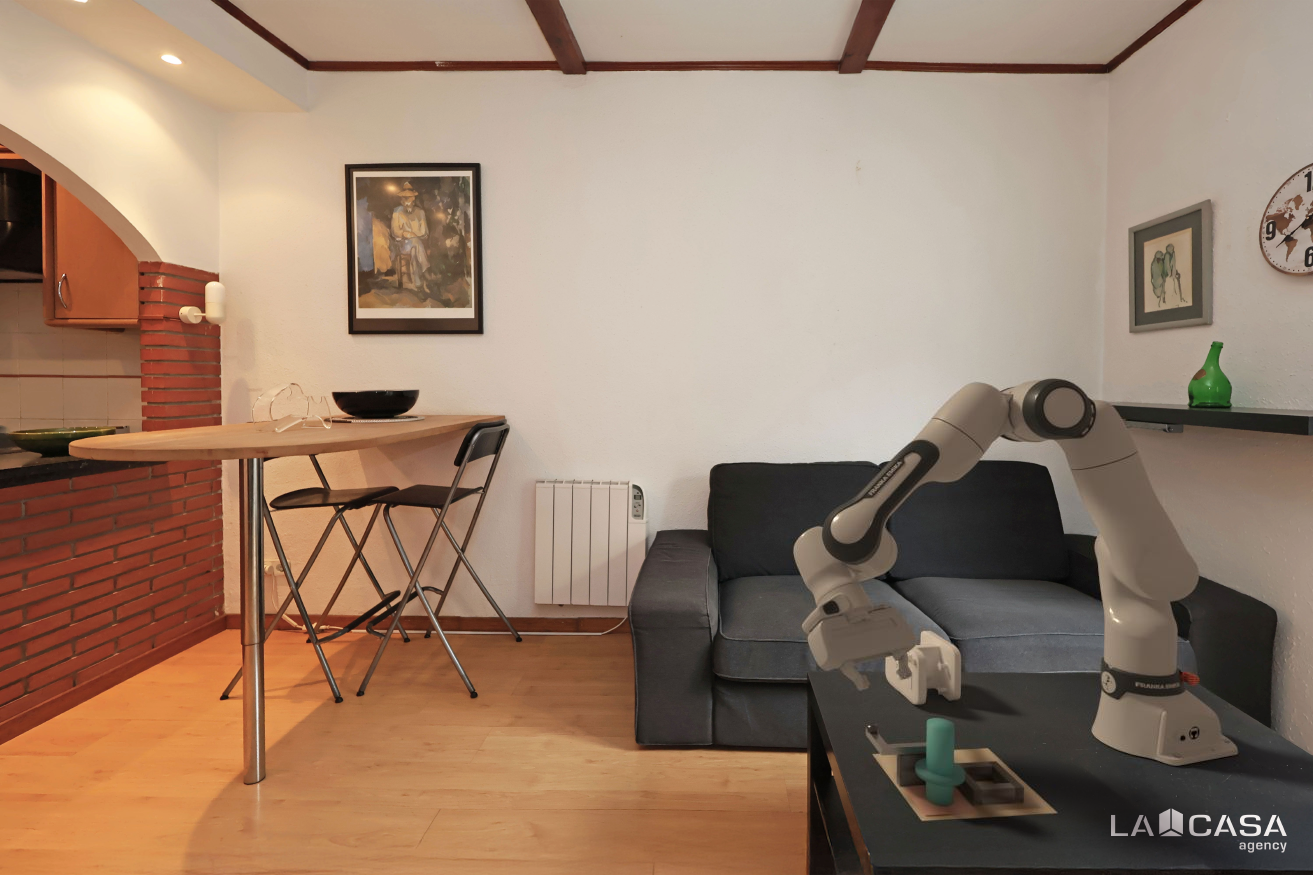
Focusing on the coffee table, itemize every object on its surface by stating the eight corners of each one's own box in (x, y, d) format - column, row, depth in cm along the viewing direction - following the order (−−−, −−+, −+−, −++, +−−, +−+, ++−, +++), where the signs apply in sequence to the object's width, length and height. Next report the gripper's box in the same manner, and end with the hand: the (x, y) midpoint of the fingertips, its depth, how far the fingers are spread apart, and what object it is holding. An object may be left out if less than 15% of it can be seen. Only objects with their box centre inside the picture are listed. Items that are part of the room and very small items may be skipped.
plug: (950, 785, 118) (952, 712, 117) (973, 810, 110) (974, 733, 110) (907, 787, 117) (908, 714, 116) (927, 813, 110) (928, 735, 109)
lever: (922, 732, 125) (923, 719, 125) (941, 752, 118) (941, 739, 118) (864, 734, 124) (864, 722, 124) (880, 755, 117) (880, 742, 117)
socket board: (987, 753, 130) (988, 720, 129) (1057, 819, 110) (1058, 780, 110) (872, 759, 128) (872, 726, 128) (921, 826, 108) (922, 787, 108)
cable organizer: (964, 707, 149) (964, 651, 148) (915, 711, 148) (915, 654, 147) (926, 678, 164) (927, 627, 163) (882, 681, 162) (882, 630, 162)
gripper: (882, 611, 138) (921, 679, 129) (793, 627, 128) (830, 702, 120) (899, 593, 133) (941, 663, 125) (809, 609, 124) (848, 685, 116)
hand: (886, 682), depth 123 cm, fingers open, 8 cm apart
